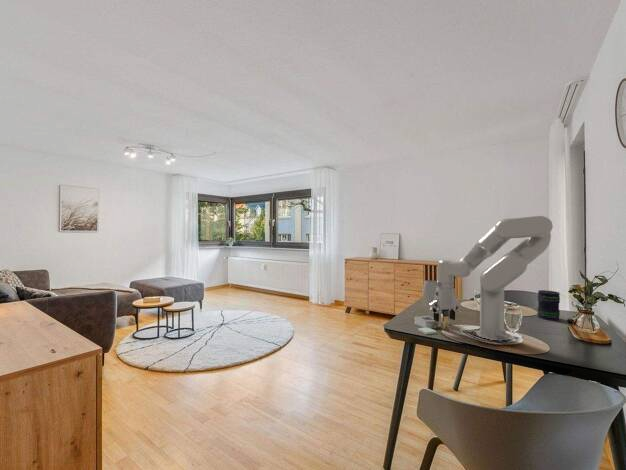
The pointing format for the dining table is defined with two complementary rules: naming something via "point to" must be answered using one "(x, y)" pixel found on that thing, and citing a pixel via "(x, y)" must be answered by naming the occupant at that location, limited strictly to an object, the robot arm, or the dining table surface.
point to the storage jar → (548, 305)
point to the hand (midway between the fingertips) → (444, 320)
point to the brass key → (445, 320)
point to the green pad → (427, 330)
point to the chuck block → (427, 322)
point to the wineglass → (429, 292)
